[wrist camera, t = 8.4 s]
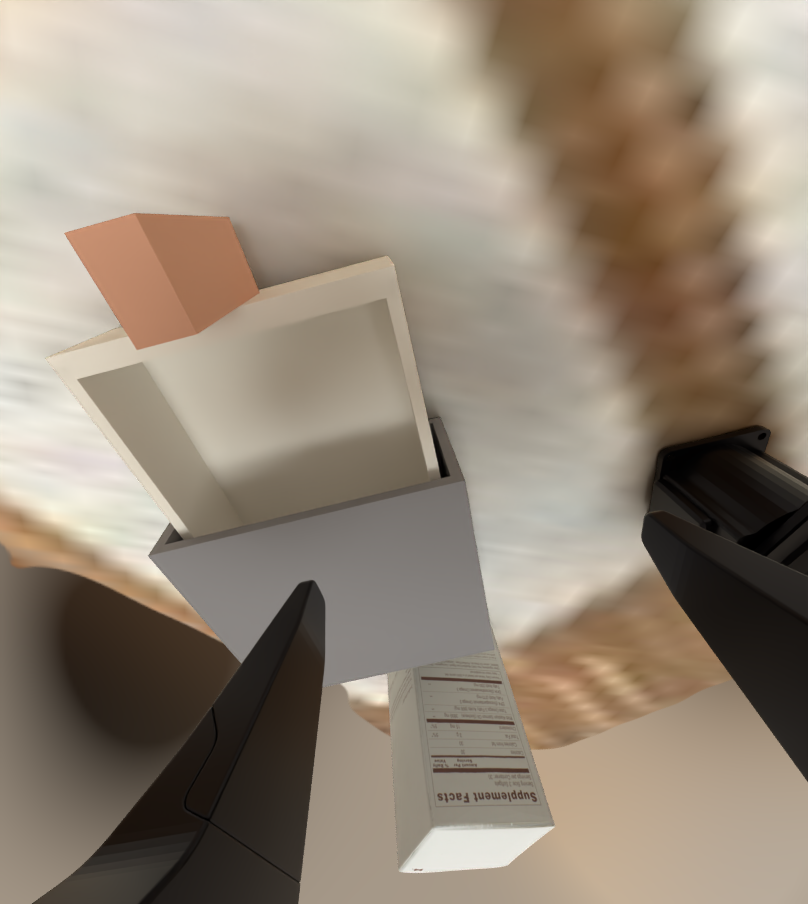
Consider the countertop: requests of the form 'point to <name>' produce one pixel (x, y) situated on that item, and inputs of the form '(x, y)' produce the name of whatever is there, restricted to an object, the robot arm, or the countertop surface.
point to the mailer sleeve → (349, 575)
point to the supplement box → (462, 767)
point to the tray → (245, 376)
